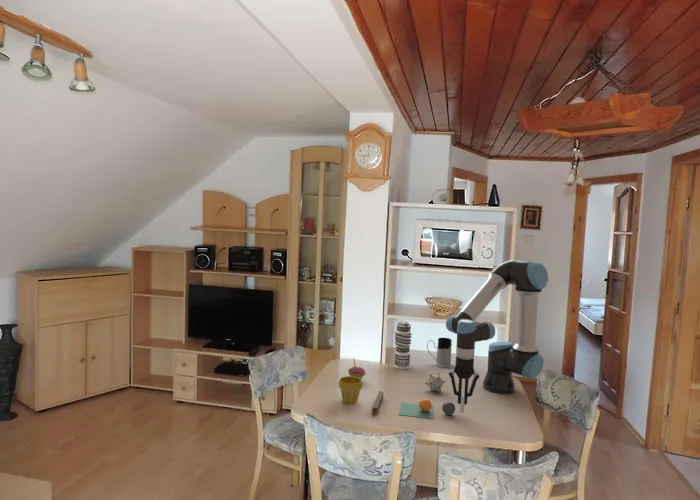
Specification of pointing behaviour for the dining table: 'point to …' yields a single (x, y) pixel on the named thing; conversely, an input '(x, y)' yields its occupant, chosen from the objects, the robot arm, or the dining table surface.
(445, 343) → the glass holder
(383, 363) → the dining table surface
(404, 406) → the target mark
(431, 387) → the grey spiky polyhedron
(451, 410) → the dark grey ball
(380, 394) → the walnut stopper
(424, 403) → the orange ball
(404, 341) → the decorative candle
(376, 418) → the dining table surface
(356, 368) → the cupcake
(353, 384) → the plant pot
